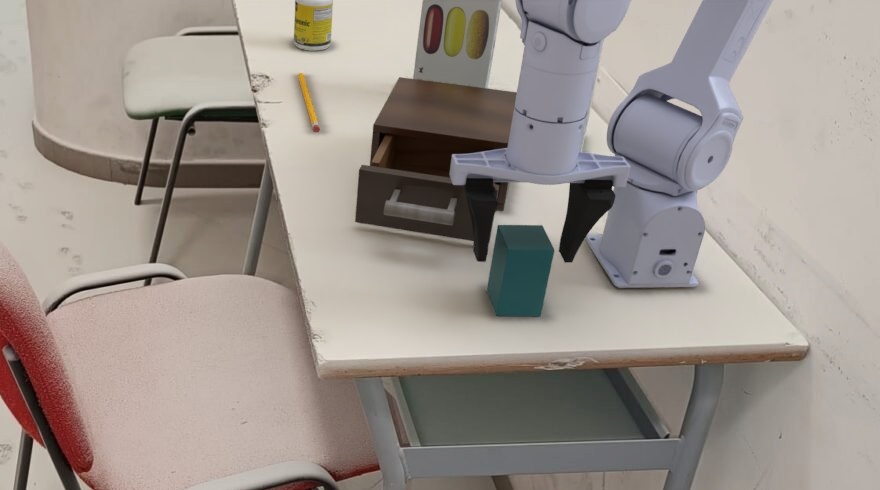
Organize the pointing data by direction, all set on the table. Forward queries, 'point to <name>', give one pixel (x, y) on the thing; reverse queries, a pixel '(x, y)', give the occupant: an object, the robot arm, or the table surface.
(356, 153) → the table surface
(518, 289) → the teal rectangular block
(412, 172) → the drawer
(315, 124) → the pencil
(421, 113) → the cabinet
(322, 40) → the supplement bottle
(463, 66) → the supplement box
